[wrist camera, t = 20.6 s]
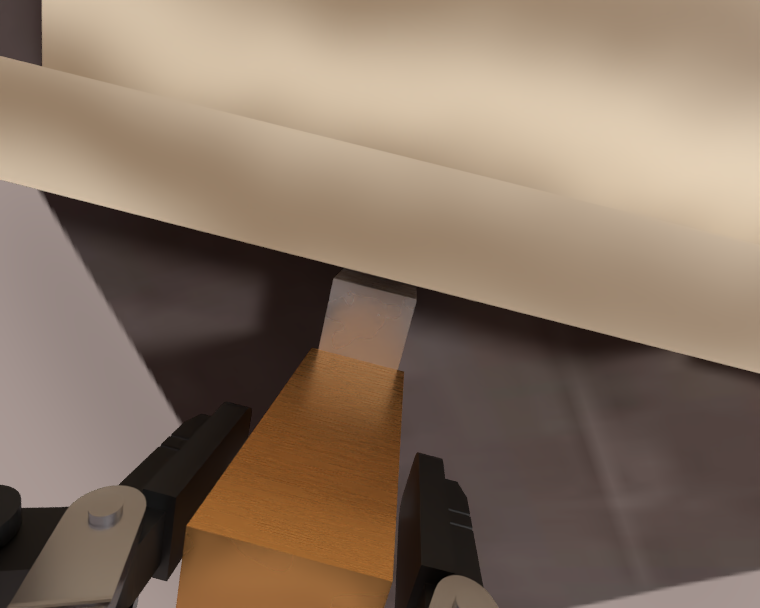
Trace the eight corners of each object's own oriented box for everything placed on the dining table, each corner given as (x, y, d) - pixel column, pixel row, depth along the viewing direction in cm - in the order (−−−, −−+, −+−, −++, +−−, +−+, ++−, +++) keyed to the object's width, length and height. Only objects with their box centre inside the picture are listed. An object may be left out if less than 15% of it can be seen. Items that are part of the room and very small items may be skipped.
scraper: (346, 259, 17) (204, 378, 5) (421, 279, 17) (438, 440, 5) (309, 429, 19) (156, 758, 8) (375, 446, 19) (318, 804, 8)
